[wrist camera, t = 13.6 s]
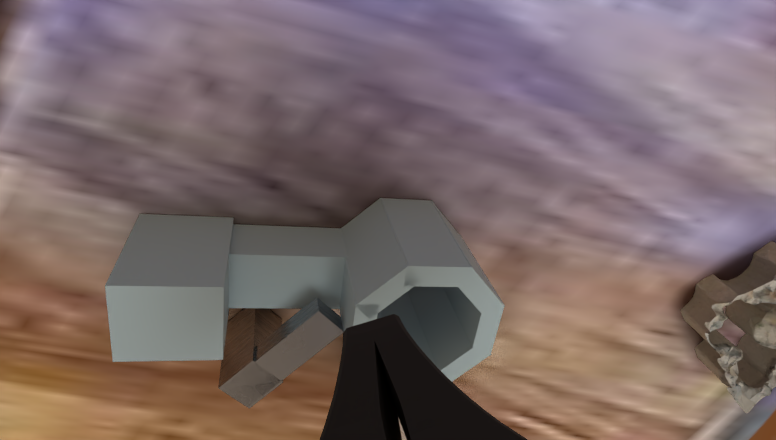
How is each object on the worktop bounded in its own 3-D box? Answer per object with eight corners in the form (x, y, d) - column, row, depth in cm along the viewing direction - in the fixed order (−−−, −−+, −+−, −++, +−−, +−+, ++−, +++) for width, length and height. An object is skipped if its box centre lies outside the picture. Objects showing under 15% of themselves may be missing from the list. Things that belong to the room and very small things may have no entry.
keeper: (334, 275, 24) (345, 333, 21) (252, 342, 25) (249, 408, 21) (310, 253, 23) (316, 309, 20) (226, 322, 24) (218, 388, 21)
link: (467, 201, 24) (515, 267, 19) (443, 305, 26) (481, 387, 21) (138, 184, 21) (97, 258, 16) (145, 303, 23) (112, 398, 18)
